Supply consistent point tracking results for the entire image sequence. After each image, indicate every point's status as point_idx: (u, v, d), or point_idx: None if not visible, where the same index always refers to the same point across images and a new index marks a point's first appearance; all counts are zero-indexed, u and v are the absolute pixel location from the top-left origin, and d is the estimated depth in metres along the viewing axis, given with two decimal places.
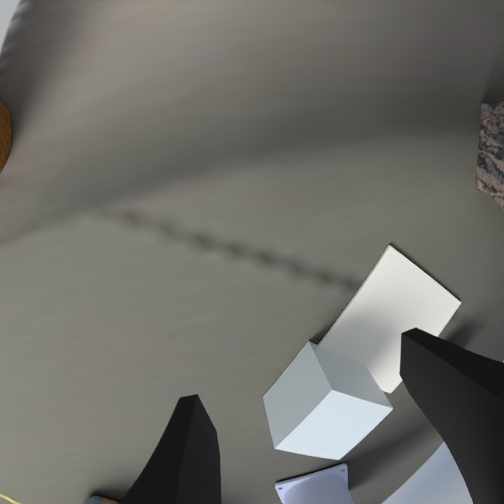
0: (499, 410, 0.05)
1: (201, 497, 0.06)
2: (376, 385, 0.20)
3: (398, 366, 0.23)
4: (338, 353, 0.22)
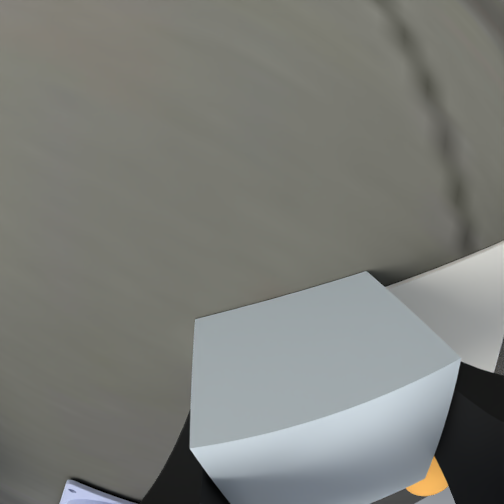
0: (482, 422, 0.05)
1: (221, 494, 0.06)
2: None
3: None
4: None
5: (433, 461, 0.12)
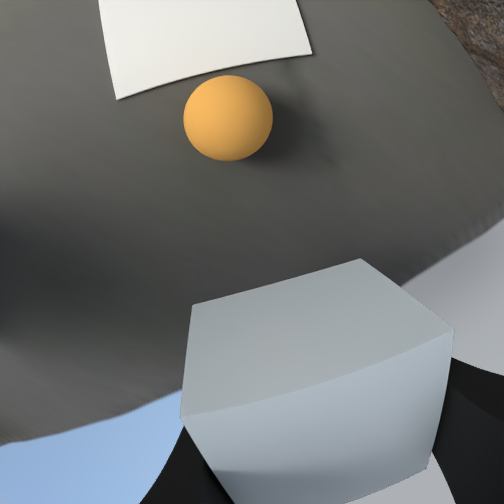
0: (482, 422, 0.05)
1: (221, 494, 0.06)
2: None
3: (159, 51, 0.13)
4: None
5: None
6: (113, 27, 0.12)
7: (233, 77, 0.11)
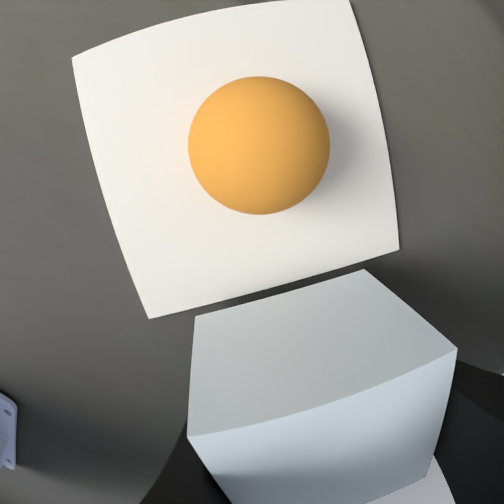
0: (482, 422, 0.05)
1: (221, 494, 0.06)
2: None
3: (201, 258, 0.11)
4: (124, 84, 0.09)
5: (259, 206, 0.08)
6: (124, 209, 0.10)
7: (293, 205, 0.08)
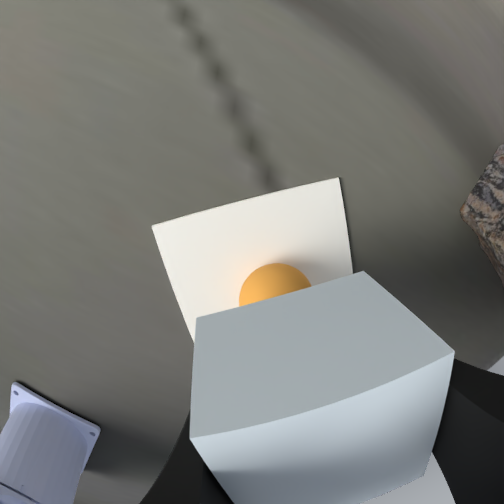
0: (482, 422, 0.05)
1: (221, 494, 0.06)
2: None
3: None
4: (192, 250, 0.16)
5: None
6: (195, 321, 0.18)
7: None
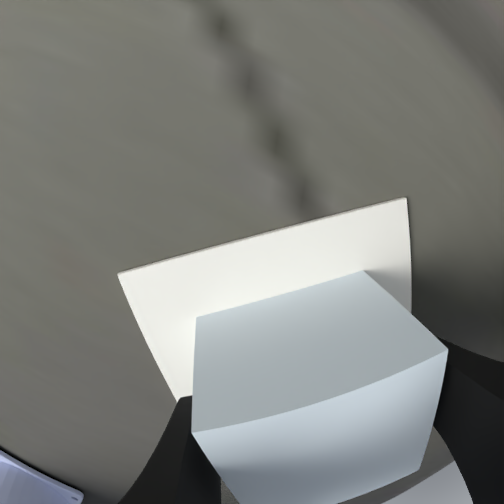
0: (499, 410, 0.05)
1: (201, 497, 0.06)
2: None
3: None
4: (182, 311, 0.10)
5: None
6: None
7: None
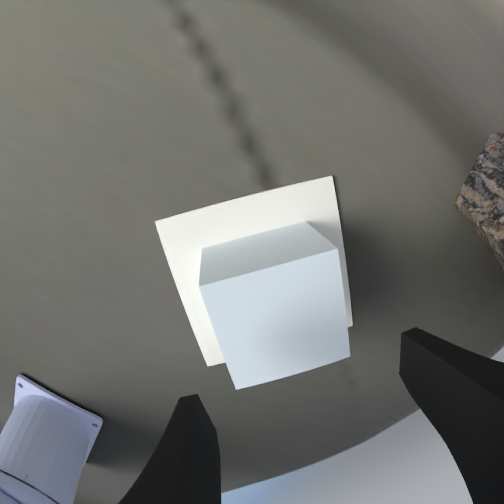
0: (499, 410, 0.05)
1: (201, 497, 0.06)
2: None
3: None
4: (193, 245, 0.17)
5: None
6: (196, 312, 0.19)
7: None
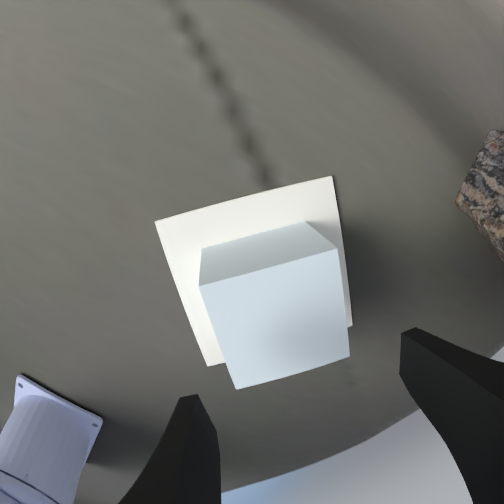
0: (499, 410, 0.05)
1: (201, 497, 0.06)
2: None
3: None
4: (193, 245, 0.17)
5: None
6: (196, 312, 0.19)
7: None
